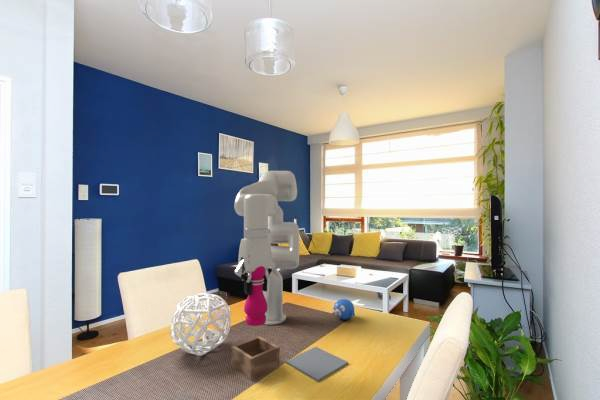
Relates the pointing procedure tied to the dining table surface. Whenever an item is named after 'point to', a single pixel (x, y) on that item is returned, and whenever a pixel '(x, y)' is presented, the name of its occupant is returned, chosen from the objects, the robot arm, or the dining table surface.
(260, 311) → the pink bowling pin
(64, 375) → the dining table surface
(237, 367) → the holder
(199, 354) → the decorative ball
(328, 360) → the mat
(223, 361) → the dining table surface
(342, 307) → the blue mole toy
